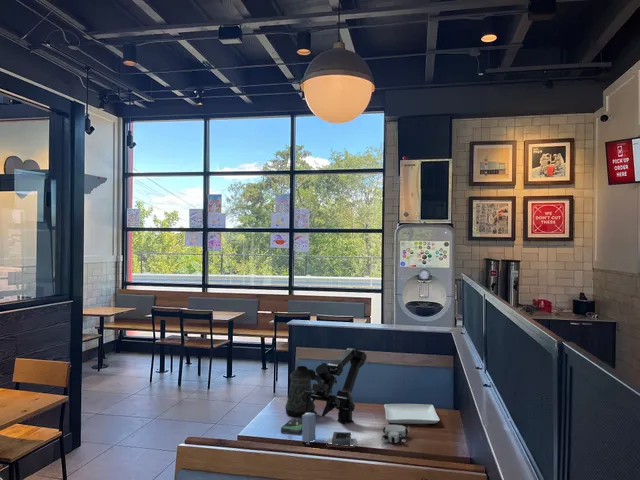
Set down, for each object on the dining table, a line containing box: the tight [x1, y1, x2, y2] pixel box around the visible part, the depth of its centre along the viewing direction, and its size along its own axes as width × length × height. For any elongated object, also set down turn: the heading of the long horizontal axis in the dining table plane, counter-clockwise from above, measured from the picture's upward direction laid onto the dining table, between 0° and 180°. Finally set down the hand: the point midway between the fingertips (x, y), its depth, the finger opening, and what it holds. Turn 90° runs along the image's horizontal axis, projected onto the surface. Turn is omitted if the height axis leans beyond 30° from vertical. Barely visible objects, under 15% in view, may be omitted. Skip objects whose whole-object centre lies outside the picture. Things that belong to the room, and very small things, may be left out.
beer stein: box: [284, 365, 323, 418], centre depth 261 cm, size 16×19×25 cm
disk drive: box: [280, 418, 302, 435], centre depth 235 cm, size 10×3×15 cm
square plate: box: [383, 403, 440, 425], centre depth 250 cm, size 27×27×4 cm
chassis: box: [326, 431, 357, 446], centre depth 214 cm, size 10×13×4 cm
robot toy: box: [380, 424, 410, 444], centre depth 219 cm, size 12×4×15 cm
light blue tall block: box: [301, 412, 317, 445], centre depth 217 cm, size 6×4×13 cm, turn 146°
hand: (314, 414), depth 221 cm, fingers open, 9 cm apart
